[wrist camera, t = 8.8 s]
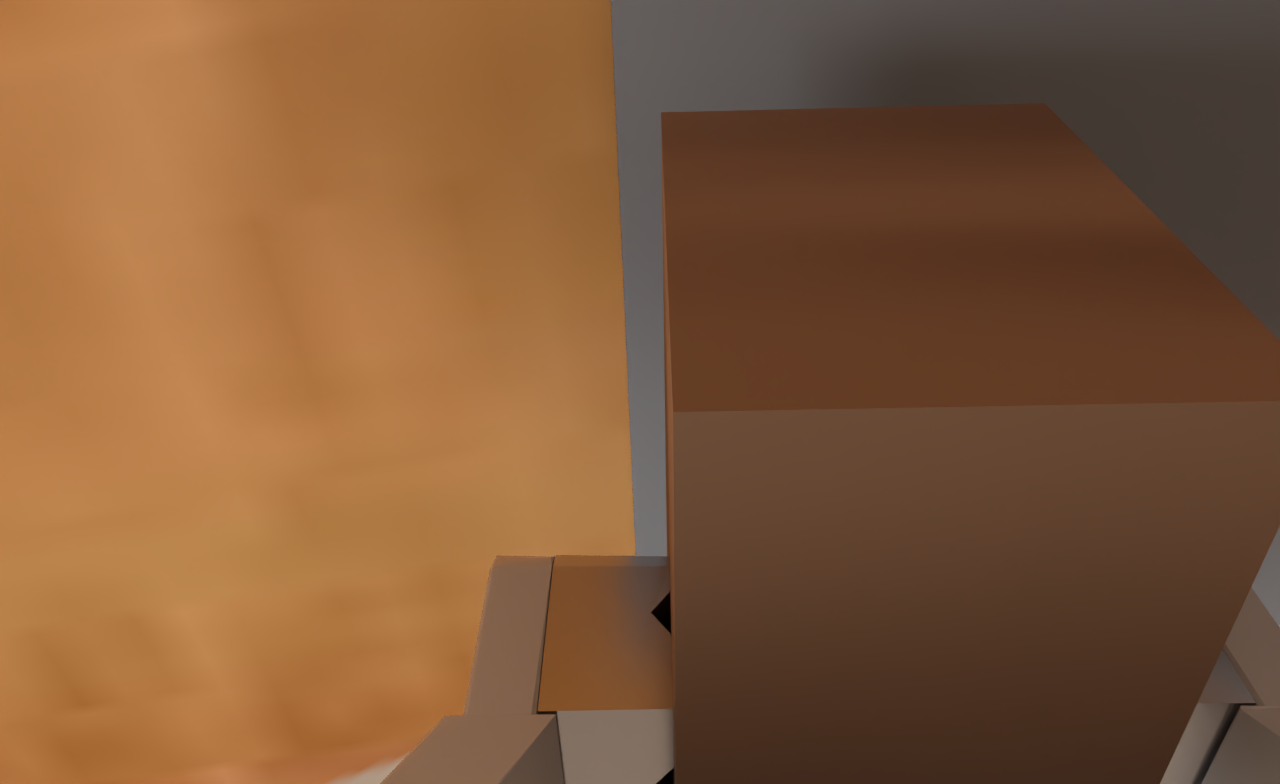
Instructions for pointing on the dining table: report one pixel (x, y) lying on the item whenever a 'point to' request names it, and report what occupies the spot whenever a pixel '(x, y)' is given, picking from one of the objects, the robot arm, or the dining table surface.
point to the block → (945, 452)
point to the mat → (964, 75)
